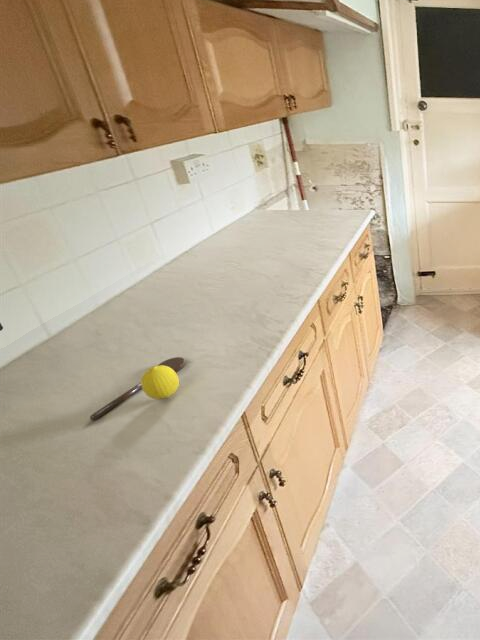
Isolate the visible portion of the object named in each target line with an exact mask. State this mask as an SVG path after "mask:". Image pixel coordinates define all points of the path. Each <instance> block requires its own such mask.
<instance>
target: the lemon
mask: <svg viewBox="0 0 480 640" xmlns="http://www.w3.org/2000/svg"><path fill="white" fill-rule="evenodd" d="M140 383H141V384H142V389H141V390H142V391H143V392H144V394H145V395H146V396H147V397H148V398H151V399H155V400H162V399H168V398H170V397H171V396H172V395H173V394H174V393H175V392H176V391H177V390H178V388H179V384H180V379H179V376H178V374H177V372H175V371H174V370H173V369H171V368H170V367H168V366H163V365H160V366H158V365H154V366H151V367H150V368H149V369H147V370H146V371H144V373H143V375H142V376H141V382H140Z"/></svg>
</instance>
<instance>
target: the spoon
mask: <svg viewBox="0 0 480 640" xmlns="http://www.w3.org/2000/svg"><path fill="white" fill-rule="evenodd" d="M160 365H163V366H168V367H170V368H171V369H173V370H174V371H175V372H176V373H177V372H179V371H181V370H183V369H184V367H185V366H186V361H185V358H183V357H182V356H181V357H180V356H176V357H171V358H168V359H165V360H164V361H161V362H160V363H159V364H158V365H157V366H160ZM141 390H143V389H142V384H141V382H139V383H138V384H136V385H135V386H133V387H131V388H130V389H129V390H127V391H125V392H123V393H122V394H121V395H119V396H118V397H117V398H115V399H113V400H112V401H110V402H109V403H107V404H106V405H104V406H103V407H101V408H100V409H98V410H97V411H95V412H93V413H92V414H91V415H90V416H89V420H91V421H96V420H98V419H99V418H101V417H102V416H103V415H105V414H106V413H108V412H110V411H111V410H113V409H114V408H116V407H117V406H118V405H120V404H121V403H123V402H125V401H126V400H127V399H129V398H130V397H132V396H133V395H134V394H136V393H138V392H139V391H141Z"/></svg>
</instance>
